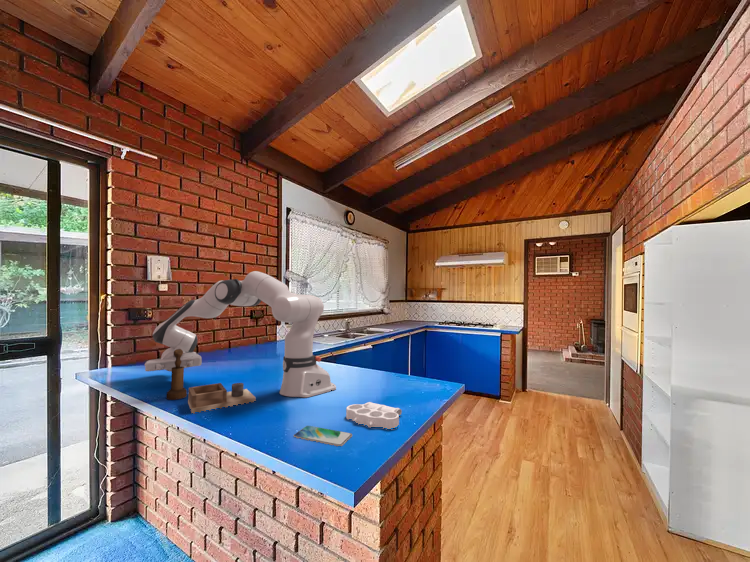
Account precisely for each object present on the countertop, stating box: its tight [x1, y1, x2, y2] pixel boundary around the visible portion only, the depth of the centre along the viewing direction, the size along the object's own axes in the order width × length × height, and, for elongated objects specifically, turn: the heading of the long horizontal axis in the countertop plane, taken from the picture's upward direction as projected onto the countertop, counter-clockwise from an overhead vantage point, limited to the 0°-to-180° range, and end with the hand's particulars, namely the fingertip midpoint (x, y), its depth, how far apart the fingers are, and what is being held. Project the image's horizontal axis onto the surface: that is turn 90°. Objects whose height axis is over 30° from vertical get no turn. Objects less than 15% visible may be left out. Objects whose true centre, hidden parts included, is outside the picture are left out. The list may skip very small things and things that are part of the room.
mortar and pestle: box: [165, 349, 188, 401], centre depth 118 cm, size 7×6×18 cm
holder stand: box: [187, 382, 257, 414], centre depth 112 cm, size 20×13×6 cm, turn 126°
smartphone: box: [293, 425, 353, 447], centre depth 85 cm, size 7×1×15 cm
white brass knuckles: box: [345, 401, 403, 430], centre depth 97 cm, size 3×18×15 cm
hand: (175, 366), depth 127 cm, fingers open, 8 cm apart
